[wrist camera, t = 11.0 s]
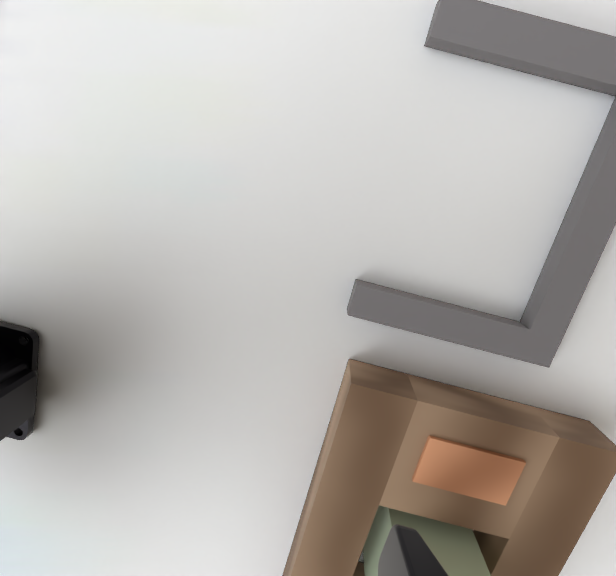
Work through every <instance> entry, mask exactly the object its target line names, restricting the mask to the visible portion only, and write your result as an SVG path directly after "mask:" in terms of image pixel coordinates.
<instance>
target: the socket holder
mask: <svg viewBox="0 0 616 576" xmlns="http://www.w3.org/2000/svg"><path fill="white" fill-rule="evenodd" d="M615 474H616V445H615V444H614V443H613V442H612V441H610V440H609V439H608V438H607V437H606V436H605V435H604V434H603V433H602V432H601V431H600V430H599V429H597V428H596V427H595V426H594V425H593V424H592V423H591V422H590V421H587V420H583V419H579V418H575V417H571V416H568V415H564V414H560V413H556V412H552V411H548V410H545V409H541V408H537V407H533V406H529V405H525V404H521V403H518V402H514V401H510V400H506V399H502V398H498V397H495V396H491V395H487V394H483V393H479V392H475V391H471V390H468V389H464V388H460V387H456V386H452V385H448V384H444V383H441V382H437V381H433V380H429V379H425V378H421V377H418V376H414V375H410V374H406V373H402V372H398V371H394V370H391V369H387V368H383V367H379V366H375V365H371V364H368V363H364V362H360V361H356V360H352V359H349V360H348V364H347V367H346V370H345V373H344V377H343V380H342V383H341V386H340V390H339V393H338V396H337V399H336V403H335V406H334V409H333V412H332V416H331V419H330V422H329V425H328V429H327V432H326V435H325V438H324V442H323V445H322V448H321V452H320V455H319V458H318V461H317V465H316V468H315V471H314V474H313V478H312V481H311V484H310V487H309V491H308V494H307V497H306V500H305V504H304V507H303V510H302V513H301V517H300V520H299V523H298V526H297V530H296V533H295V536H294V540H293V543H292V546H291V549H290V553H289V556H288V559H287V562H286V566H285V569H284V572H283V575H282V576H365V573H364V563H361V562H358V560H359V558H360V555H361V552H362V550H363V547H364V544H365V542H366V539H367V536H368V533H369V531H370V528H371V525H372V523H373V520H374V517H375V515H376V512H377V509H378V507H379V505H380V506H383V507H387V508H391V509H395V510H399V511H403V512H407V513H410V514H414V515H418V516H422V517H426V518H430V519H434V520H438V521H441V522H445V523H449V524H453V525H457V526H461V527H465V528H468V529H472V530H474V531H473V533H474V535H475V538H476V540H477V543H478V545H479V548H480V550H481V553H482V555H483V558H484V560H485V562H486V565H487V567H488V570H489V572H490V575H491V576H558V575H559V573H560V572H561V570H562V568H563V566H564V564H565V563H566V561H567V559H568V557H569V556H570V554H571V552H572V550H573V548H574V547H575V545H576V543H577V541H578V540H579V538H580V536H581V534H582V532H583V531H584V529H585V527H586V525H587V523H588V522H589V520H590V518H591V516H592V515H593V513H594V511H595V509H596V507H597V506H598V504H599V502H600V500H601V499H602V497H603V495H604V493H605V491H606V490H607V488H608V486H609V484H610V482H611V481H612V479H613V477H614V475H615Z"/></svg>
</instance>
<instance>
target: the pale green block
mask: <svg viewBox="0 0 616 576" xmlns="http://www.w3.org/2000/svg"><path fill="white" fill-rule="evenodd" d="M395 524H399V525H403V526H406V527H410V528H413V529H415V530H416V531H417V532H418V533H419V534H420V535H421V537H422V538H423V540H424V541H425V543H426V544H427V545H428V547H429V548H430V550H431V551H432V553H433V554H434V555H435V557H436V558H437V560H438V561H439V563H440V564H441V565H442V567H443V568H444V570H445V571H446V573H447V574H448V575H449V576H491V575H490V572H489V570H488V567H487V565H486V562H485V560H484V558H483V555H482V553H481V550H480V548H479V545H478V543H477V540H476V538H475V535H474V533H473V530H472V529H468V528H465V527H461V526H457V525H453V524H449V523H445V522H441V521H438V520H434V519H430V518H426V517H422V516H418V515H414V514H410V513H407V512H403V511H399V510H395V509H391V508H387V507H383V506H380V505H379V507H378V509H377V512H376V515H375V517H374V520H373V523H372V525H371V528H370V531H369V533H368V536H367V539H366V542H365V544H364V547H363V561H364V573H365V576H378V563H379V558H380V555H381V552H382V550H383V547H384V545H385V542H386V540H387V537H388V534H389V532H390V530H391V528H392V526H393V525H395Z"/></svg>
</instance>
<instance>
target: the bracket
mask: <svg viewBox="0 0 616 576" xmlns="http://www.w3.org/2000/svg"><path fill="white" fill-rule="evenodd" d="M424 46H427V47H431V48H434V49H438V50H442V51H446V52H450V53H453V54H457V55H461V56H465V57H469V58H472V59H476V60H480V61H484V62H488V63H492V64H495V65H499V66H503V67H507V68H511V69H514V70H518V71H522V72H526V73H530V74H533V75H537V76H541V77H545V78H549V79H552V80H556V81H560V82H564V83H568V84H571V85H575V86H579V87H583V88H587V89H590V90H594V91H598V92H602V93H606V94H610V95H613V96H616V37H614V36H611V35H607V34H603V33H599V32H595V31H592V30H588V29H584V28H580V27H576V26H573V25H569V24H565V23H561V22H557V21H554V20H550V19H546V18H542V17H538V16H535V15H531V14H527V13H523V12H519V11H516V10H512V9H508V8H504V7H500V6H497V5H493V4H489V3H485V2H481V1H478V0H439V1H438V2H437V4H436V8H435V11H434V14H433V18H432V21H431V25H430V28H429V31H428V35H427V38H426V42H425V45H424ZM615 224H616V97H615V100H614V102H613V104H612V107H611V109H610V112H609V114H608V116H607V119H606V121H605V123H604V126H603V128H602V130H601V133H600V135H599V137H598V140H597V142H596V144H595V147H594V149H593V151H592V154H591V156H590V158H589V161H588V163H587V166H586V168H585V170H584V173H583V175H582V177H581V180H580V182H579V184H578V187H577V189H576V191H575V194H574V196H573V198H572V201H571V203H570V205H569V208H568V210H567V212H566V215H565V217H564V219H563V222H562V224H561V227H560V229H559V231H558V234H557V236H556V238H555V241H554V243H553V245H552V248H551V250H550V252H549V255H548V257H547V259H546V262H545V264H544V266H543V269H542V271H541V273H540V276H539V278H538V281H537V283H536V285H535V288H534V290H533V292H532V295H531V297H530V299H529V302H528V304H527V306H526V309H525V311H524V313H523V316H522V318H521V320H520V322H518V321H514V320H511V319H507V318H503V317H499V316H495V315H491V314H487V313H484V312H480V311H476V310H472V309H468V308H464V307H461V306H457V305H453V304H449V303H445V302H441V301H438V300H434V299H430V298H426V297H422V296H418V295H415V294H411V293H407V292H403V291H399V290H395V289H392V288H388V287H384V286H380V285H376V284H372V283H368V282H365V281H361V280H357V279H356V280H355V283H354V286H353V290H352V293H351V297H350V300H349V303H348V307H347V313H348V315H349V316H353V317H357V318H361V319H364V320H368V321H372V322H376V323H380V324H384V325H387V326H391V327H395V328H399V329H403V330H407V331H410V332H414V333H418V334H422V335H426V336H430V337H434V338H437V339H441V340H445V341H449V342H453V343H457V344H460V345H464V346H468V347H472V348H476V349H480V350H483V351H487V352H491V353H495V354H499V355H503V356H507V357H510V358H514V359H518V360H522V361H526V362H530V363H533V364H537V365H541V366H545V367H550V364H551V362H552V360H553V358H554V356H555V354H556V351H557V349H558V347H559V345H560V343H561V341H562V338H563V336H564V334H565V332H566V330H567V328H568V326H569V323H570V321H571V319H572V317H573V315H574V313H575V310H576V308H577V306H578V304H579V302H580V300H581V298H582V295H583V293H584V291H585V289H586V287H587V285H588V282H589V280H590V278H591V276H592V274H593V272H594V269H595V267H596V265H597V263H598V261H599V259H600V257H601V254H602V252H603V250H604V248H605V246H606V244H607V241H608V239H609V237H610V235H611V233H612V231H613V228H614V226H615Z"/></svg>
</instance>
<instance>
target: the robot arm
mask: <svg viewBox="0 0 616 576" xmlns="http://www.w3.org/2000/svg"><path fill="white" fill-rule="evenodd" d="M25 337H26V338H27V339H28V341H26V339H25ZM38 349H39V337H38V335H37V333H36V332H35V331H33V330H31V329H28V328H24V327H20V326H17V325H13V324H9V323H5V322H1V321H0V441H1V440H2V439H3V438H5V437H9V438H13V439H17V440H23V439H25V438H27V437H28V436H29V435H30V434H31V433H32V431H33V422H34V414H35V404H36V390H37V363H38ZM378 576H449V575H448V574H447V573H446V571H445V570H444V568H443V567H442V565H441V564H440V563H439V561H438V560H437V558H436V557H435V555H434V554H433V553H432V551H431V550H430V548H429V547H428V545H427V544H426V543H425V541H424V540H423V538H422V537H421V535H420V534H419V533H418V532H417V531H416V530H415V529H413V528H410V527H406V526H403V525H399V524H395V525H393V526H392V528H391V530H390V532H389V534H388V537H387V540H386V542H385V545H384V547H383V550H382V552H381V555H380V558H379V563H378Z"/></svg>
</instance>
